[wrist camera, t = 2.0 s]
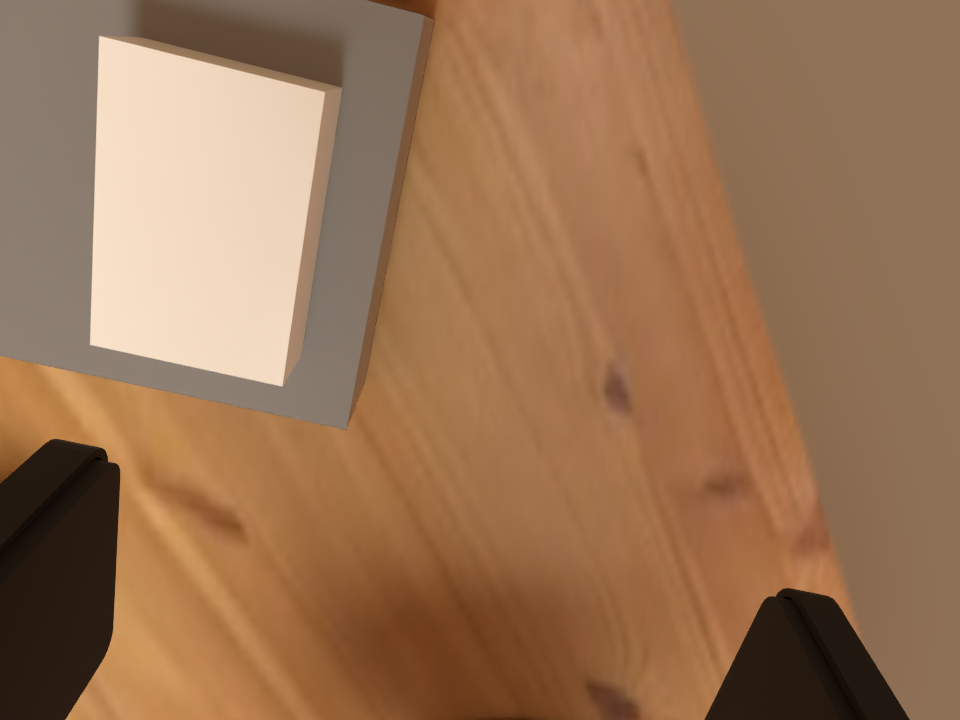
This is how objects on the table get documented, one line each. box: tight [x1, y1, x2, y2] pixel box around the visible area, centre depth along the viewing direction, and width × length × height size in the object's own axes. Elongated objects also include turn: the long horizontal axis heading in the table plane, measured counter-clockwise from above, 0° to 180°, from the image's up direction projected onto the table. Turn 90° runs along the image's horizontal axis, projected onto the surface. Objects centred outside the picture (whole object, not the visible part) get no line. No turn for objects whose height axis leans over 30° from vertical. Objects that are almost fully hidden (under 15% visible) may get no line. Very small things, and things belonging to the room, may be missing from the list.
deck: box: [0, 0, 434, 430], centre depth 25 cm, size 16×14×4 cm
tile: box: [90, 36, 342, 386], centre depth 22 cm, size 6×9×2 cm, turn 167°
